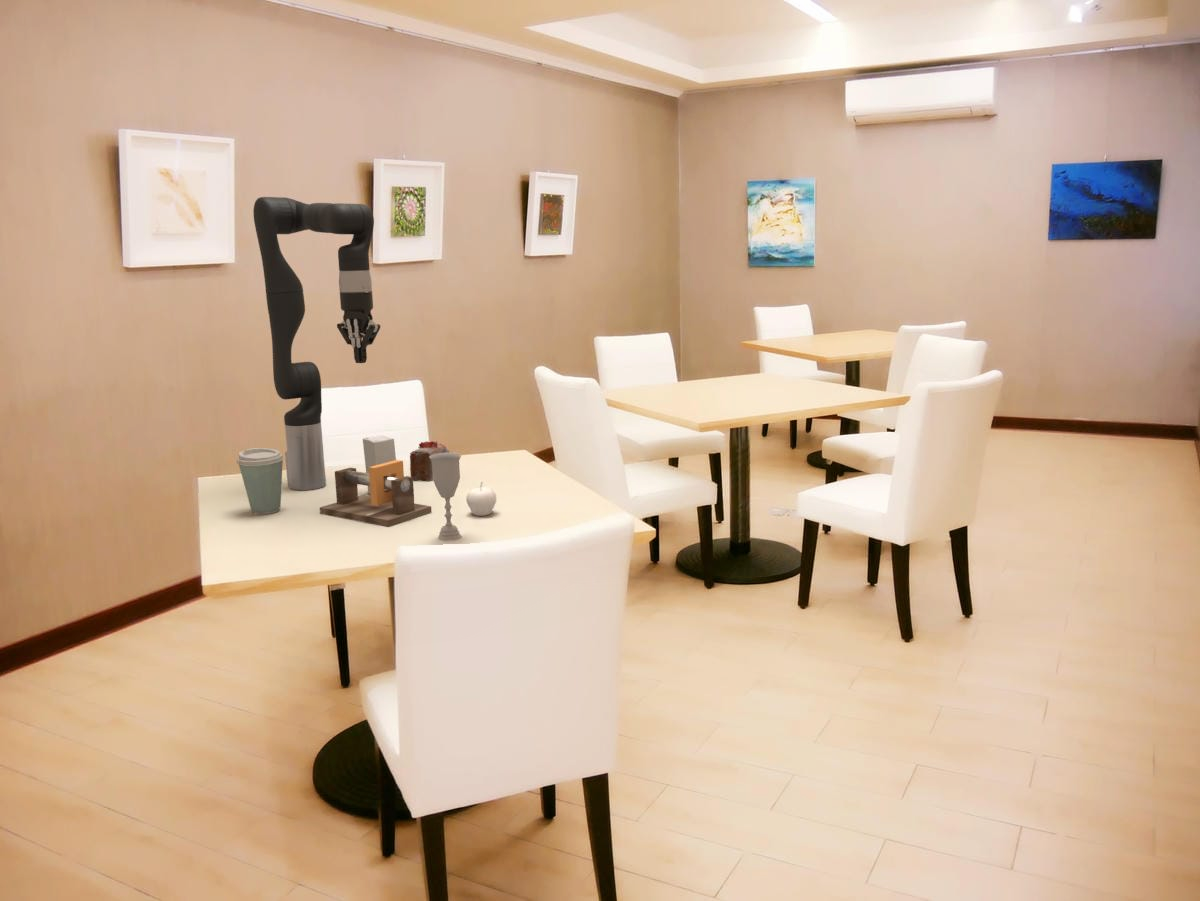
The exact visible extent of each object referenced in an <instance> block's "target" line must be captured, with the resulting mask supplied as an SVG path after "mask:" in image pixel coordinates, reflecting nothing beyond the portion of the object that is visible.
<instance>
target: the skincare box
mask: <svg viewBox="0 0 1200 901" xmlns="http://www.w3.org/2000/svg"><path fill="white" fill-rule="evenodd" d="M362 444H363V445H362V446H363V455H364V465H365V473H369V467H371V466H375V465H379V464H383V463H387V462H390V461H394V460H397V456H396V447H395V446H396V445H395V438H393V437H389V436H386V435H383V434H382V435H376V436H369V437H364V438H362ZM387 476H390V475H387ZM384 490H388V489H384ZM367 491H368V492H367V494H370V486H367Z"/></svg>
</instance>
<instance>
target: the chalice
mask: <svg viewBox="0 0 1200 901" xmlns="http://www.w3.org/2000/svg"><path fill="white" fill-rule="evenodd" d="M461 457H462V454H460V453H458V452H449V453H437V454H433V455H430V456H429V458H430V460H431V461H432V474H433V479H432V480H433V483H434V486H435V488H436V490H437V492H438V494H439V495H440V496H439V497H441V498H442V499H444V501H445V505H444V509H445V511H446V512H445V514H444V517H445V519H446V523H445V524H444V525H443V526H442V527H441V528H440V531H439V534H438V536H437V539H439V540H440V539H441V541H453V540H455V541H456V540H458V539H460V538H462V535H461V533H460V531H459V528H458V527H457V526H456V525H454V524H453V523H452V520H451V519H452V516H453V514H452V513H451V508H453V507H452V505H451V502H450V501H451V498H454V497H455V494H456V491H457V488H458V487H459V486H458V485H459V483H460V479H461V470H460V459H461ZM457 538H458V539H457Z"/></svg>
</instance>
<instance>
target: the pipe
mask: <svg viewBox="0 0 1200 901" xmlns="http://www.w3.org/2000/svg"><path fill="white" fill-rule="evenodd" d="M383 477H384V489H390V490H392V488H391V480H394V479H398V478H396V477H390V476H383ZM344 480H345V481H346V482H347V483H353V484H357V485H360V486H365V487H366V486H367V487H368V486H370V480H369V473H366V472H364V471H363V472H362V471H357V470H356V471H351V470H348V471H346V472H345V474H344ZM406 480H408V479H404V480H403V481H402V483H401V490H403V492H407V491H408V490H409V488H410V482H409V480H408V481H406ZM404 481H405V482H404ZM402 484H403V485H402ZM404 485H405V486H404ZM402 487H403V488H402ZM405 490H406V491H405Z"/></svg>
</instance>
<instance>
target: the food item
mask: <svg viewBox="0 0 1200 901" xmlns="http://www.w3.org/2000/svg"><path fill="white" fill-rule="evenodd" d="M446 447H447V446H446V445H444V444H442V443H439V442H438V441H433V440H431V441H421V442H420V443H419V444H418V449H417V448H416V449H415V450H412V451H411V452H410V453H409V454H410V455H409V466H410V467H409V468H410V469H409V472H410V473H409V474H410V477H413V481H416V482H417V481H419V482H421V481H422V482H430V481H431V480H433V474H432V461H431V460H430V458H429V456H430V455H433V454H437V453H450V450H449V449H447V448H446Z"/></svg>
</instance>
